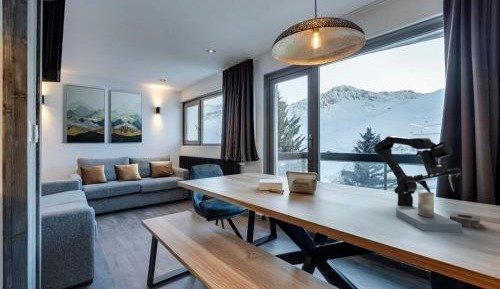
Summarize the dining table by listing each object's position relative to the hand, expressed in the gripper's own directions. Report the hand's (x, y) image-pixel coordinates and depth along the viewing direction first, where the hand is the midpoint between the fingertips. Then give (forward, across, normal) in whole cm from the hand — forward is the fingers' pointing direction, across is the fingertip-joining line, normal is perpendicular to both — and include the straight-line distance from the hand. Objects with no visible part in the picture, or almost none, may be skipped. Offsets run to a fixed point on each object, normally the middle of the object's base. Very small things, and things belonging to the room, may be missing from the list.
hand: (442, 193), depth 116 cm
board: (+12, -13, -14) cm, 22 cm away
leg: (+12, -13, -14) cm, 22 cm away
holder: (+14, +2, -8) cm, 16 cm away
